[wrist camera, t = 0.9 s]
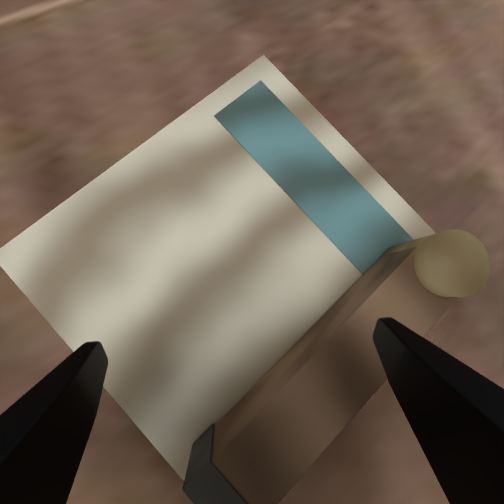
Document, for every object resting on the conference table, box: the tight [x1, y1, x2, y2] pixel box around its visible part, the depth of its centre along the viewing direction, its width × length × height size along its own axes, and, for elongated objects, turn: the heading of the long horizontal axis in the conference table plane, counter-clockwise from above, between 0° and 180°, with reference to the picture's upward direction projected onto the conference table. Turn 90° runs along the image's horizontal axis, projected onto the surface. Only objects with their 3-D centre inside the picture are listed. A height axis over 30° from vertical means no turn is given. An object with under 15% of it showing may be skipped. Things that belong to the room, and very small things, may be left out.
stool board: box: [0, 55, 436, 481], centre depth 19 cm, size 22×23×3 cm
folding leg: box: [182, 229, 490, 504], centre depth 15 cm, size 19×4×5 cm, turn 133°
